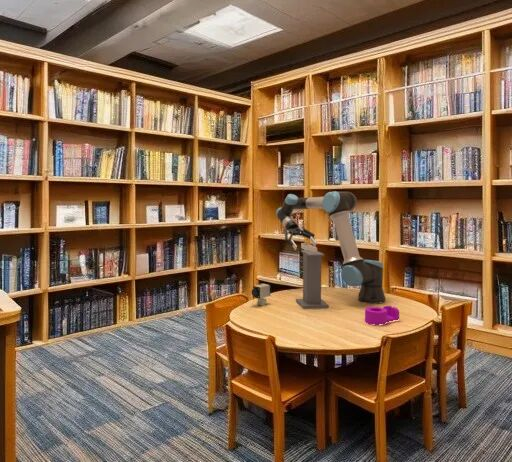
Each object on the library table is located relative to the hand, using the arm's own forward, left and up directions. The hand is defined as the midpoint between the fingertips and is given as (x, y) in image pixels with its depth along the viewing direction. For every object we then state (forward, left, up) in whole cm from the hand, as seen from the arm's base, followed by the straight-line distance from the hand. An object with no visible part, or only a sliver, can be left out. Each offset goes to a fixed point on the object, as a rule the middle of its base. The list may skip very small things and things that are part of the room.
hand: (305, 246), depth 251 cm
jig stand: (-20, +15, -29) cm, 38 cm away
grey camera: (-3, +37, -29) cm, 47 cm away
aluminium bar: (-14, +11, 0) cm, 18 cm away
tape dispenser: (-62, +11, -30) cm, 69 cm away
